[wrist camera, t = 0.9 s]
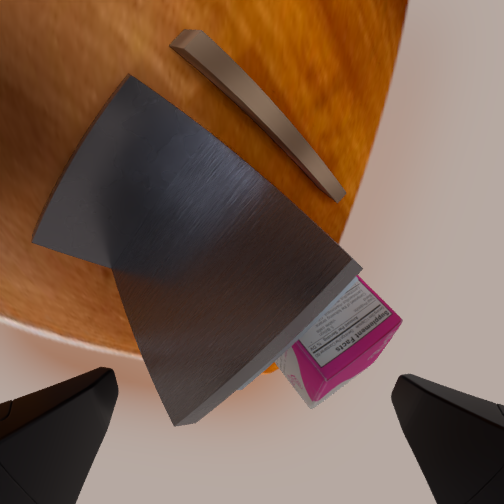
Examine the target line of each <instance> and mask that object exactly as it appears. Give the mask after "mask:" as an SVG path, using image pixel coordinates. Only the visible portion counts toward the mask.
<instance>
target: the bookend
mask: <svg viewBox="0 0 504 504" xmlns="http://www.w3.org/2000/svg"><path fill="white" fill-rule="evenodd" d="M32 243H35V244H37V245H40V246H43V247H46V248H49V249H52V250H55V251H58V252H61V253H64V254H67V255H70V256H73V257H77V258H80V259H83V260H86V261H89V262H92V263H96V264H99V265H102V266H105V267H109V268H112V271H113V275H114V278H115V281H116V285H117V288H118V291H119V294H120V297H121V300H122V303H123V306H124V309H125V312H126V315H127V317H128V320H129V323H130V326H131V329H132V331H133V334H134V337H135V339H136V342H137V344H138V347H139V349H140V352H141V355H142V357H143V359H144V362H145V364H146V366H147V369H148V371H149V374H150V376H151V378H152V381H153V383H154V385H155V387H156V390H157V392H158V394H159V396H160V398H161V400H162V403H163V405H164V407H165V409H166V411H167V413H168V415H169V417H170V419H171V421H172V423H173V425H174V426H181V425H187V424H193V423H196V422H198V421H199V420H200V419H201V418H203V417H204V416H205V415H207V414H208V413H209V412H210V411H212V410H213V409H214V408H215V407H217V406H218V405H219V404H220V403H221V402H223V401H224V400H225V399H226V398H228V397H229V396H230V395H231V394H232V393H234V392H235V391H236V390H237V389H238V388H240V387H241V386H242V385H243V384H244V383H245V382H247V381H248V380H249V379H250V378H251V377H252V376H253V375H255V374H256V373H257V372H258V371H259V370H260V369H261V368H263V367H264V366H265V365H266V364H267V363H268V362H269V361H270V360H271V359H273V358H274V357H275V356H276V355H277V354H278V353H279V352H280V351H281V350H282V349H283V348H285V347H286V346H287V345H288V344H289V343H290V342H291V341H292V340H293V339H294V338H295V337H296V336H297V335H298V334H299V333H300V332H302V331H303V330H304V329H305V328H306V327H307V326H308V325H309V324H310V323H311V322H312V321H313V320H314V319H315V318H316V317H317V316H318V315H319V314H320V313H321V312H322V311H323V310H324V309H325V308H326V307H327V306H328V305H329V304H330V303H331V302H332V301H333V300H334V299H335V298H336V297H337V296H338V295H339V294H340V293H341V292H342V291H343V289H344V288H345V287H346V286H347V285H348V284H349V283H350V282H351V281H352V280H353V279H354V278H355V277H356V276H357V275H358V274H359V273H360V271H361V270H362V269H363V268H362V267H361V266H360V265H359V264H358V263H357V262H356V261H355V260H354V259H353V258H351V256H350V255H349V254H348V253H346V252H345V251H344V250H343V249H342V248H341V247H340V246H339V245H338V244H337V243H336V242H335V241H334V240H333V239H332V238H331V237H330V236H329V235H328V234H327V233H326V232H324V231H323V230H322V229H321V228H320V227H319V226H318V225H317V224H316V223H315V222H314V221H313V220H311V219H310V218H309V217H308V216H307V215H306V214H305V213H304V212H303V211H302V210H300V209H299V208H298V207H297V206H296V205H295V204H294V203H293V202H292V201H290V200H289V199H288V198H287V197H286V196H285V195H284V194H283V193H281V192H280V191H279V190H278V189H277V188H276V187H275V186H273V185H272V184H271V183H270V182H269V181H268V180H267V179H265V178H264V177H263V176H262V175H261V174H260V173H258V172H257V171H256V170H255V169H254V168H253V167H251V166H250V165H249V164H248V163H247V162H245V161H244V160H243V159H242V158H241V157H239V156H238V155H237V154H236V153H235V152H233V151H232V150H231V149H230V148H229V147H227V146H226V145H225V144H224V143H222V142H221V141H220V140H219V139H217V138H216V137H215V136H214V135H212V134H211V133H210V132H208V131H207V130H206V129H204V128H203V127H202V126H201V125H199V124H198V123H197V122H195V121H194V120H193V119H191V118H190V117H189V116H187V115H186V114H185V113H183V112H182V111H181V110H179V109H178V108H177V107H175V106H174V105H173V104H171V103H170V102H168V101H167V100H166V99H164V98H163V97H161V96H160V95H159V94H157V93H156V92H155V91H153V90H152V89H150V88H149V87H147V86H146V85H145V84H143V83H142V82H140V81H139V80H137V79H136V78H135V77H133V76H132V75H130V74H129V73H128V75H127V76H126V77H125V78H124V80H123V81H122V82H121V83H120V85H119V86H118V87H117V89H116V90H115V91H114V93H113V94H112V95H111V97H110V98H109V99H108V101H107V102H106V104H105V105H104V106H103V108H102V109H101V111H100V112H99V114H98V115H97V116H96V118H95V119H94V121H93V122H92V124H91V125H90V127H89V128H88V130H87V132H86V133H85V135H84V136H83V138H82V139H81V141H80V143H79V144H78V146H77V148H76V149H75V151H74V153H73V154H72V156H71V158H70V159H69V161H68V163H67V165H66V166H65V168H64V170H63V172H62V174H61V176H60V177H59V179H58V181H57V183H56V185H55V187H54V189H53V191H52V193H51V195H50V197H49V199H48V201H47V203H46V205H45V207H44V209H43V211H42V214H41V216H40V218H39V220H38V222H37V225H36V227H35V229H34V232H33V234H32Z"/></svg>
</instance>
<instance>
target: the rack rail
mask: <svg viewBox="0 0 504 504" xmlns="http://www.w3.org/2000/svg"><path fill="white" fill-rule="evenodd" d="M169 46H170V47H171V48H172V49H174V50H175V51H176V52H177V53H179V54H180V55H181V56H182V57H183V58H185V59H186V60H187V61H188V62H189V63H191V64H192V65H193V66H194V67H195V68H197V69H198V70H199V71H200V72H201V73H202V74H203V75H205V76H206V77H207V78H208V79H209V80H210V81H211V82H213V83H214V84H215V85H216V86H217V87H218V88H219V89H220V90H222V91H223V92H224V93H225V94H226V95H227V96H228V97H229V98H230V99H231V100H233V101H234V102H235V103H236V104H237V105H238V106H239V107H240V108H241V109H242V110H243V111H244V112H245V113H246V114H247V115H248V116H249V117H251V118H252V119H253V120H254V121H255V122H256V123H257V124H258V125H259V126H260V127H261V128H262V129H263V130H264V131H265V132H266V133H267V134H268V135H269V136H270V137H271V138H272V139H273V140H274V141H275V142H276V143H277V144H278V145H279V146H280V147H281V148H282V149H283V150H284V151H285V152H286V153H287V154H288V155H289V157H290V158H291V159H292V160H293V161H294V162H295V163H296V164H297V165H298V166H299V167H300V168H301V169H302V170H303V171H304V172H305V173H306V175H307V176H308V177H309V178H310V179H311V180H312V181H313V182H314V183H315V184H316V185H317V187H318V188H319V189H320V190H322V191H323V192H324V193H325V194H327V195H328V196H329V197H330V198H332V199H333V200H334V201H335V202H336V203H338V202H339V201H340V200H341V199H342V198H343V197H344V195H345V194H346V191H345V190H344V189H343V187H342V186H341V185H340V183H339V182H338V181H337V179H336V178H335V177H334V175H333V174H332V173H331V171H330V170H329V169H328V168H327V166H326V165H325V164H324V162H323V161H322V160H321V159H320V157H319V156H318V155H317V154H316V152H315V151H314V150H313V149H312V147H311V146H310V145H309V144H308V142H307V141H306V140H305V139H304V138H303V136H302V135H301V134H300V133H299V132H298V130H297V129H296V128H295V127H294V126H293V124H292V123H291V122H290V121H289V120H288V119H287V117H286V116H285V115H284V114H283V113H282V112H281V111H280V109H279V108H278V107H277V106H276V105H275V104H274V103H273V102H272V100H271V99H270V98H269V97H268V96H267V95H266V94H265V93H264V92H263V91H262V90H261V88H260V87H259V86H258V85H257V84H256V83H255V82H254V81H253V80H252V79H251V78H250V77H249V76H248V75H247V74H246V73H245V72H244V71H243V70H242V69H241V68H240V67H239V66H238V65H237V64H236V63H235V62H234V61H233V60H232V59H231V58H230V57H229V56H228V55H227V54H226V53H225V52H224V51H223V50H222V49H221V48H220V47H219V46H218V45H217V44H216V43H215V42H214V41H213V40H212V39H211V38H210V37H209V36H207V35H206V34H205V33H204V32H203V31H202V30H186V29H184V30H183V31H182V32H181V33H180V34H179V35H178V36H177V37H176V38H175V40H174V41H173V42H172V43H171V44H170V45H169Z"/></svg>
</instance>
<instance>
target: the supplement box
mask: <svg viewBox="0 0 504 504" xmlns="http://www.w3.org/2000/svg"><path fill="white" fill-rule="evenodd" d="M356 277H357V278H358V280H357V282H356V283H355V284H354V285H353V286H352V287H351V288H350V289H349V290H348V291H347V292H346V293H345V294H344V295H343V296H342V297H341V298H340V299H339V300H338V301H337V302H336V303H335V304H334V305H333V306H332V307H331V308H330V309H329V310H328V311H327V312H326V313H325V314H324V315H323V316H322V317H321V318H320V319H319V320H318V321H317V322H316V323H315V324H314V325H313V326H312V327H311V328H310V329H309V330H308V331H307V332H306V333H305V334H304V335H303V336H302V337H301V338H300V339H299V340H297V341H296V342H295V343H294V344H293V345H292V346H291V347H290V348H289V349H288V350H287V351H286V352H284V353H283V354H282V355H281V356H280V357H279V358H278V359H277V360H276V361H275V363H276V365H277V366H278V367H279V369H280V370H281V371H282V373H283V374H284V375H285V377H286V378H287V379H288V381H289V382H290V383H291V384H292V386H293V387H294V388H295V390H296V391H297V392H298V394H299V395H300V396H301V397H302V399H303V400H304V401H305V403H306V404H307V405H308V407H309V408H310V409H312V408H314V407H316V406H317V405H319V404H320V403H322V402H323V401H324V400H326V399H327V398H328V397H329V396H331V395H332V394H334V393H335V392H336V391H337V390H339V389H340V388H341V387H343V386H344V385H345V384H347V383H348V382H349V381H350V380H352V379H353V378H355V377H356V376H357V375H359V374H360V373H361V372H362V371H363V370H365V369H366V368H367V367H369V366H370V365H371V364H372V363H373V362H374V361H375V360H376V359H377V357H378V356H379V355H380V353H381V352H382V351H383V349H384V348H385V346H386V345H387V344H388V342H389V341H390V340H391V338H392V336H393V335H394V334H395V332H396V330H397V329H398V328H399V326H400V325H401V323H402V319H401V318H400V317H399V316H398V315H397V314H396V313H395V312H394V311H393V310H392V309H391V308H390V307H389V306H388V305H387V304H386V303H385V302H384V301H383V300H382V299H381V298H380V297H379V296H378V295H377V294H376V293H375V292H374V291H373V290H372V289H371V288H370V287H369V286H368V285H367V284H366V283H365V282H364V281H363V280H362V279H361V278H360V277H359V276H358V275H357V276H356Z"/></svg>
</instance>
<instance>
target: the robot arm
mask: <svg viewBox="0 0 504 504" xmlns="http://www.w3.org/2000/svg"><path fill="white" fill-rule="evenodd" d="M117 397H118V385H117V381H116V377H115V373H114V371H113V369H111V368H106V367H99V368H97V369H94V370H92V371H89V372H87V373H84V374H82V375H79V376H76V377H74V378H71V379H69V380H66V381H63V382H61V383H58V384H55V385H53V386H50V387H47V388H45V389H42V390H39V391H37V392H34V393H31V394H28V395H25V396H22V397H20V398H17V399H14V400H13V401H12V400H10V401H7V402H4V403H1V404H0V504H76V501H77V499H78V496H79V494H80V491H81V489H82V486H83V484H84V482H85V479H86V477H87V475H88V472H89V470H90V468H91V466H92V463H93V461H94V458H95V456H96V454H97V452H98V449H99V447H100V445H101V443H102V441H103V438H104V436H105V434H106V432H107V429H108V426H109V423H110V420H111V416H112V413H113V410H114V407H115V404H116V400H117ZM391 399H392V403H393V406H394V409H395V411H396V414H397V417H398V420H399V422H400V425H401V428H402V430H403V433H404V435H405V437H406V439H407V441H408V443H409V445H410V447H411V449H412V451H413V453H414V455H415V457H416V459H417V462H418V463H419V466H420V468H421V470H422V472H423V474H424V476H425V478H426V480H427V483H428V485H429V487H430V489H431V491H432V494H433V496H434V498H435V500H436V503H437V504H504V405H501V404H496V403H493V402H490V401H487V400H484V399H481V398H477V397H475V396H472V395H469V394H466V393H463V392H460V391H457V390H454V389H451V388H448V387H446V386H443V385H440V384H437V383H434V382H431V381H429V380H426V379H423V378H420V377H418V376H415V375H412V374H404V375H400V376H399V378H398V380H397V382H396V384H395V387H394V389H393V391H392V395H391Z"/></svg>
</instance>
